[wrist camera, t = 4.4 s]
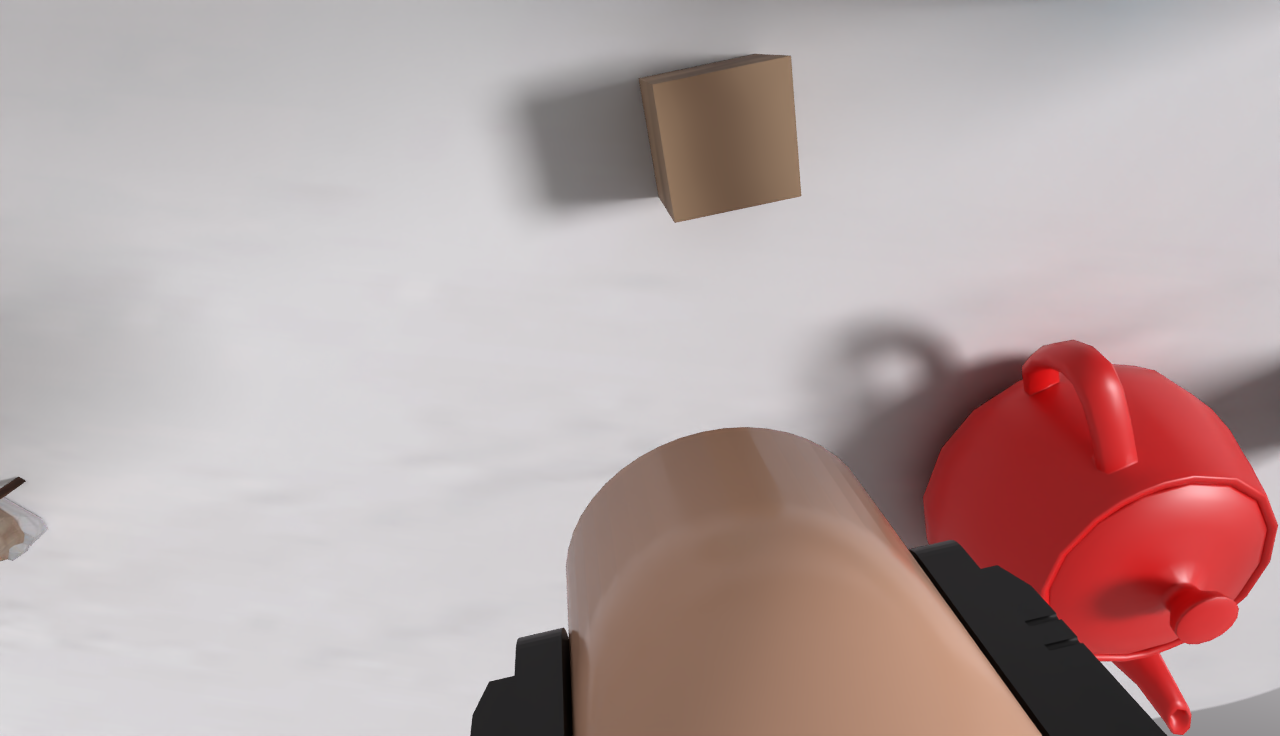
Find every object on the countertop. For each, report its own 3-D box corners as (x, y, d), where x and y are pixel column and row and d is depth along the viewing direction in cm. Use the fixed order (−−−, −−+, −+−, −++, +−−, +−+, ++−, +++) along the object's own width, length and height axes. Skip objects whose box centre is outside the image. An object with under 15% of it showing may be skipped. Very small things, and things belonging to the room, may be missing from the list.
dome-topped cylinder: (869, 394, 11) (1257, 811, 5) (876, 635, 13) (1137, 1102, 7) (530, 470, 11) (511, 997, 5) (601, 700, 13) (647, 1231, 7)
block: (754, 53, 28) (790, 55, 24) (766, 173, 30) (801, 196, 26) (638, 78, 28) (652, 84, 23) (658, 196, 30) (675, 222, 26)
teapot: (844, 363, 35) (972, 507, 24) (1133, 225, 33) (1413, 313, 22) (957, 651, 46) (1081, 841, 35) (1180, 558, 44) (1383, 727, 33)
